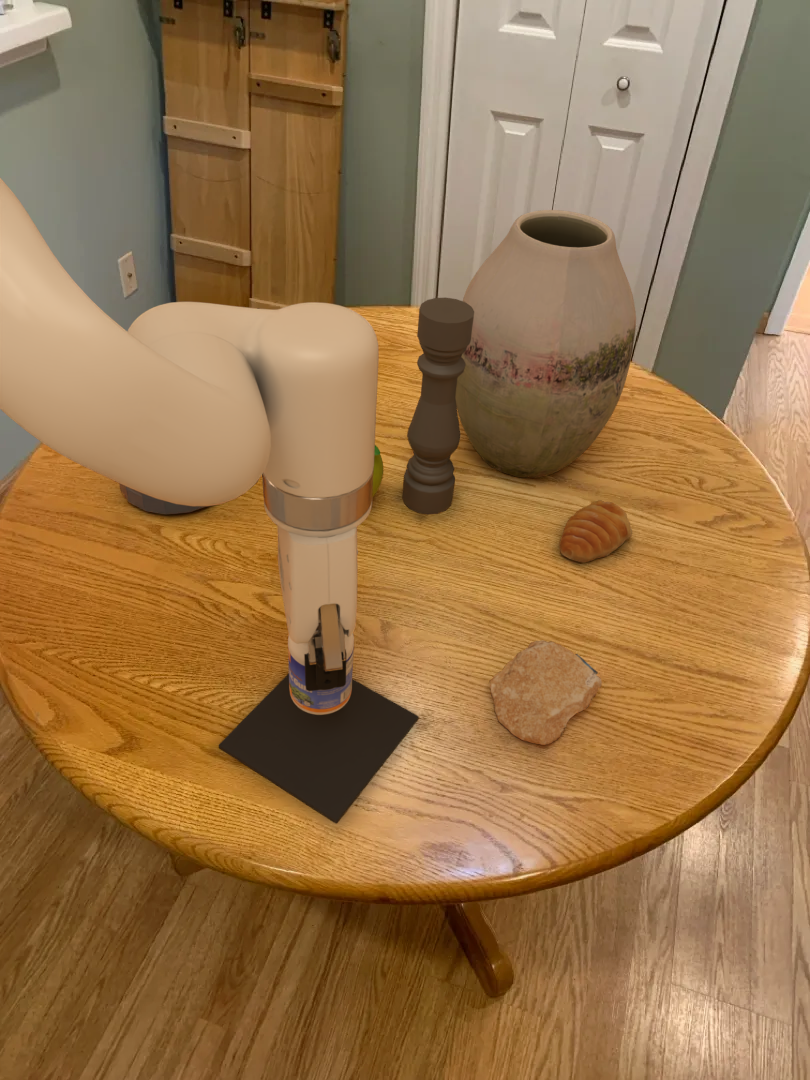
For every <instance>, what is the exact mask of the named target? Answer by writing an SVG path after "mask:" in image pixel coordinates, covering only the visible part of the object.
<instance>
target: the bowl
mask: <svg viewBox="0 0 810 1080" xmlns="http://www.w3.org/2000/svg"><path fill="white" fill-rule="evenodd" d="M118 484H119V489H120V491H121V493H122V495H123V496H124V498H125V499H126V500H127V501H128V503H130V504H131V505H133V506H135V507H137V508H139V509H141V510H142V511H145V512H148V513H154V514H160V515H161V514H162V515H175V514H176V515H177V514H186V513H192V512H196V511H198V510H201V509H203V508H206V507H207V506H187V505H180V504H175V503H171V502H167V501H163V500H160V499H156V498H154V497H151V496H148V495H146V494H143V493H141V492H138V491H136V490H134V489H131V488H129V487H127V486H124V485H122V484H120V483H118Z"/></svg>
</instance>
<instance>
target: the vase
mask: <svg viewBox="0 0 810 1080" xmlns="http://www.w3.org/2000/svg"><path fill="white" fill-rule="evenodd" d="M462 301H463V302H466V303H467V304H468V305H470V306H471V307H472V308H473V310H474V319H473V327H472V335H471V341H470V344H469V345H468V346H467V349H466V351H465V352H464V353H463V354H462V358H463V359H464V361H465V364H466V365H465V369H464V372H463V373H462V374H461V375H460V376H459V377H458V378H457V387H456V395H455V399H456V406H457V413H458V419H459V420H460V423H461V426H462V429H463V431H464V433H465V434H466V437H467V438H468V441H469V442H470V444H471V446H472V447H473V449H474V450H475V452H476V453H477V454H478V455H479V456H480V457H481V459H482V460H483V461H484V462H485V463H486V464H488V465H489V466H491V467H492V468H493V469H495V470H497V471H498V472H500V473H504V474H506V475H509V476H510V475H511V476H513V477H516V478H525V479H526V478H531V479H536V478H540V477H541V478H542V477H546V476H550V475H552V474H554V473H555V474H556V473H557V472H559V471H561V470H563V469H564V468H566V467H567V466H569V465H570V464H572V463H573V462H574V461H576V460H577V459H578V458H579V457H581V455H583V454H584V453H586V451H587V450H589V448H590V447H591V446H592V444H593V443H594V442H595V440H596V439H597V438H598V437H599V435H601V433H602V431H603V430H604V428H605V427H606V426H607V424H608V422H609V421H610V419H611V417H612V415H613V414H614V412H615V409H616V408H617V406H618V403H619V401H620V399H621V396H622V393H623V390H624V388H625V384H626V380H627V377H628V374H629V371H630V370H629V369H630V365H631V361H632V356H633V350H634V341H635V336H636V328H637V311H636V305H635V299H634V295H633V291H632V288H631V285H630V283H629V280H628V276H627V275H626V272H625V269H624V267H623V265H622V262H621V259H620V256H619V253H618V249H617V242H616V235H615V233H614V231H613V229H612V228H611V227H610V226H608V225H607V224H606V223H604V222H603V221H601V220H599V219H597V218H595V217H593V216H590V215H587V214H583V213H579V212H575V211H569V210H560V209H541V210H534V211H530V212H527V213H524V214H521V215H520V216H518V217H517V218H516V219H515V220H514V222H513V223H512V225H511V227H510V228H509V231H508V232H507V234H506V235H505V237H504V238H503V239H502V240H501V242H500V243H499V244H498V245H497V246H496V247H495V249H494V250H493V251H492V252H491V253H490V254H489V256H488V257H487V258H486V259H485V261H484V262H483V263H482V264H481V265H480V266H479V268H478V270H477V271H476V272H475V274H474V275H473V277H472V278H471V280H470V282H469V284H468V286H467V287H466V290H465V292H464V294H463V297H462Z"/></svg>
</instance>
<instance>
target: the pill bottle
mask: <svg viewBox="0 0 810 1080" xmlns="http://www.w3.org/2000/svg"><path fill="white" fill-rule="evenodd" d="M318 622H319V623H320V620H318ZM344 636H345V649H346V684H345V685H344V686H343V687H337V688H333V689H329V690H315V691H308V690H306V685H305V659H304V654H307V653H308V645H307V643H299V644H296V643H295V642H293V641H292V640H291V638H290V636H289V635H287V637H288V639H287V653H288V655H287V657H288V659H287V660H288V674H289V689H290V695H291V698H292V700H293V702H294V703H295V704H296V706H297V707H299V708H300V709H301V710H303V711H305V712H307V713H311V714H316V715H323V714H329V713H333V712H335V711H337V710H339V709H341V708H342V707H343V706H344V705H345V704H346V703H347V702H348V700H349V698H350V695H351V691H352V679H353V669H354V668H353V666H354V654H355V653H354V652H355V651H354V650H355V635H354V632H353V633H352V635H351V636H350V637H347V635H344ZM315 643H316V648H321V647H322V638H321V637H315Z"/></svg>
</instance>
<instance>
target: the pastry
mask: <svg viewBox="0 0 810 1080" xmlns="http://www.w3.org/2000/svg"><path fill="white" fill-rule="evenodd" d="M632 535H633V529H632V527H631V522H630V520H629V518H628V514H627V513H626V511H625V509H623V508H621V506H619V505H618V504H616V503H614V502H612V501H606V500H605V501H604V500H603V499H602V500H601V499H598V500H594V501H591V503H590V504H588V505H586V506H584V507H582V508H579V509H578V510H576V511H575V512H574V513H573V515H572V516H571V517H570V518H568V520H567V522H566V524H565V526H564V528H563V531H562V535H561V537H560V540H559V551H560V554H561V555H562V556H564V557H566V558H568V559H569V560H572V561H574V562H578V563H588V562H593V561H594V560H596V559H603V558H606V557H608V556H609V555H610V554H611V553H613V552H615V551H616V550H617V549H619V547H621V546H622V545H623V544H624V543H625V541H626V540H628V539H630V537H632Z"/></svg>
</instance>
